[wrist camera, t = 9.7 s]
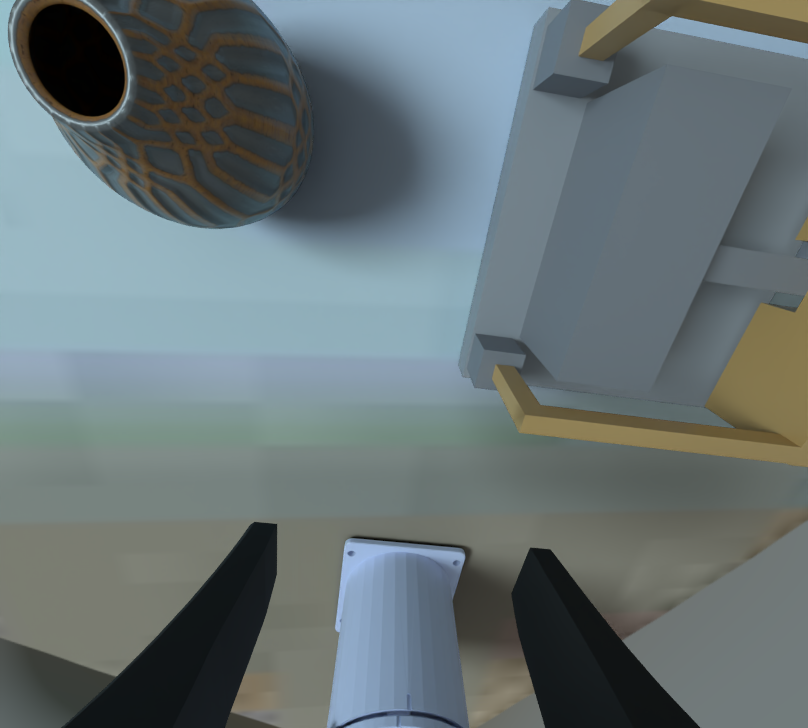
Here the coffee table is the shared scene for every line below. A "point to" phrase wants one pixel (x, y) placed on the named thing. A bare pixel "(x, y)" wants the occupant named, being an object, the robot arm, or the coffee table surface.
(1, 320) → the coffee table surface
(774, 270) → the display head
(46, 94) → the vase
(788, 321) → the tan bracket frame
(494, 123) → the coffee table surface
